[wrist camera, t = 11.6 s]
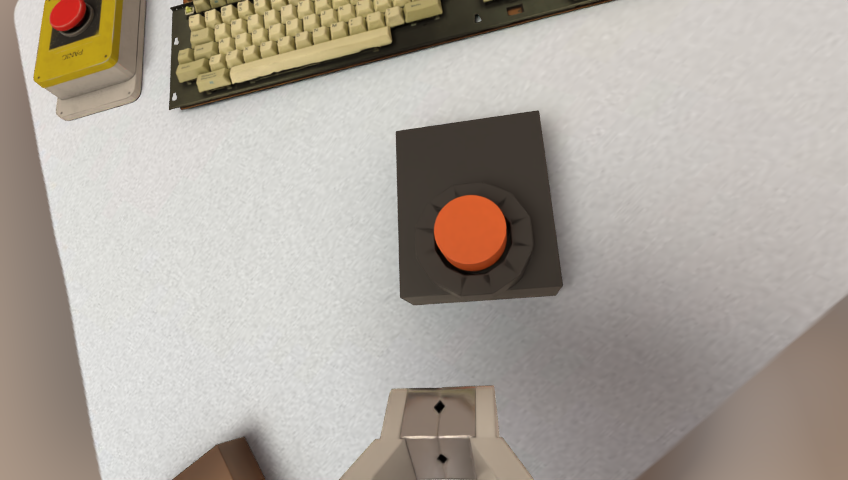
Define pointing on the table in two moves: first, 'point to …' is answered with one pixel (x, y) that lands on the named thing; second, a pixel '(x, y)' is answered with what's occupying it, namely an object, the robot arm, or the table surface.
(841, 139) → the table surface
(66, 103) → the emergency button
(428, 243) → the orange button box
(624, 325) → the table surface
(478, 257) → the push button
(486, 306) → the table surface
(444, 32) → the keyboard
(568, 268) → the table surface
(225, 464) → the walnut panel
